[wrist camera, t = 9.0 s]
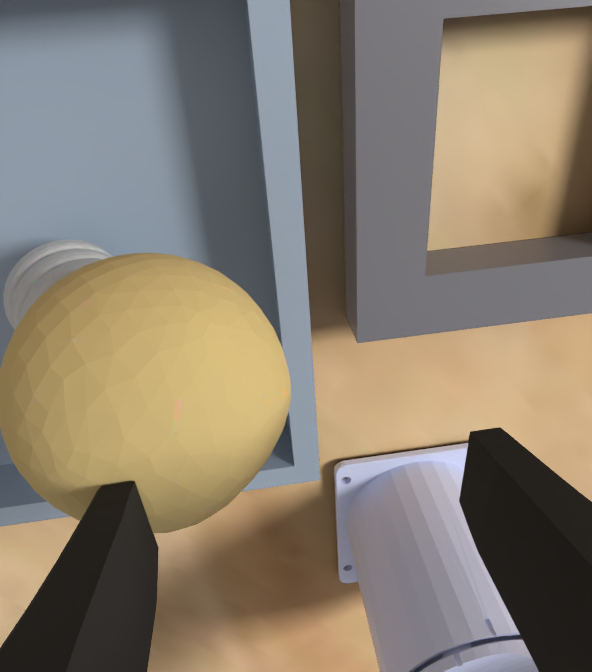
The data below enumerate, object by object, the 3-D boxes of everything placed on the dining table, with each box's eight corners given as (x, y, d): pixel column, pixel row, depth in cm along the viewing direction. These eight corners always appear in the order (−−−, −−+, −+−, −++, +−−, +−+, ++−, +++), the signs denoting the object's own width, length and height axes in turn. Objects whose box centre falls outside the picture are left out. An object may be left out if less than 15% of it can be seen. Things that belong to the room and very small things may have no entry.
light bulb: (72, 404, 19) (211, 615, 12) (-110, 311, 14) (-51, 570, 7) (187, 273, 20) (377, 402, 13) (49, 143, 15) (234, 240, 8)
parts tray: (309, 430, 24) (320, 479, 21) (-52, 480, 23) (-87, 538, 20) (273, -64, 14) (284, -82, 11) (-363, -17, 13) (-505, -26, 10)
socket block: (639, 279, 21) (675, 302, 20) (346, 316, 21) (357, 343, 19) (763, -109, 15) (832, -125, 13) (338, -79, 14) (354, -91, 12)
